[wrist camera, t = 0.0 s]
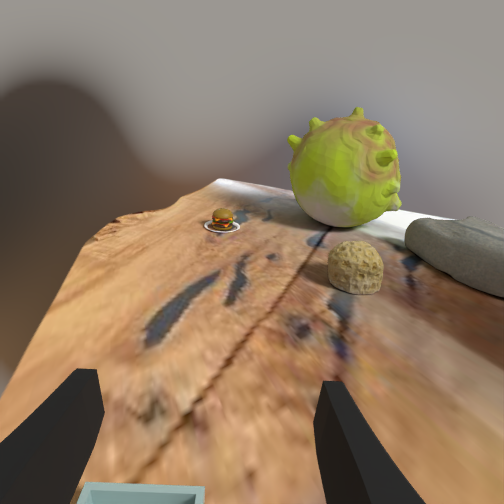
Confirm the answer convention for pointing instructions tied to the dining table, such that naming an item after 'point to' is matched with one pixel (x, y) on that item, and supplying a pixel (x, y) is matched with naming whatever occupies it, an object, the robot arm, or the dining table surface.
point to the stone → (461, 250)
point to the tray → (140, 494)
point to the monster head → (345, 170)
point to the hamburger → (222, 220)
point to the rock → (355, 268)
